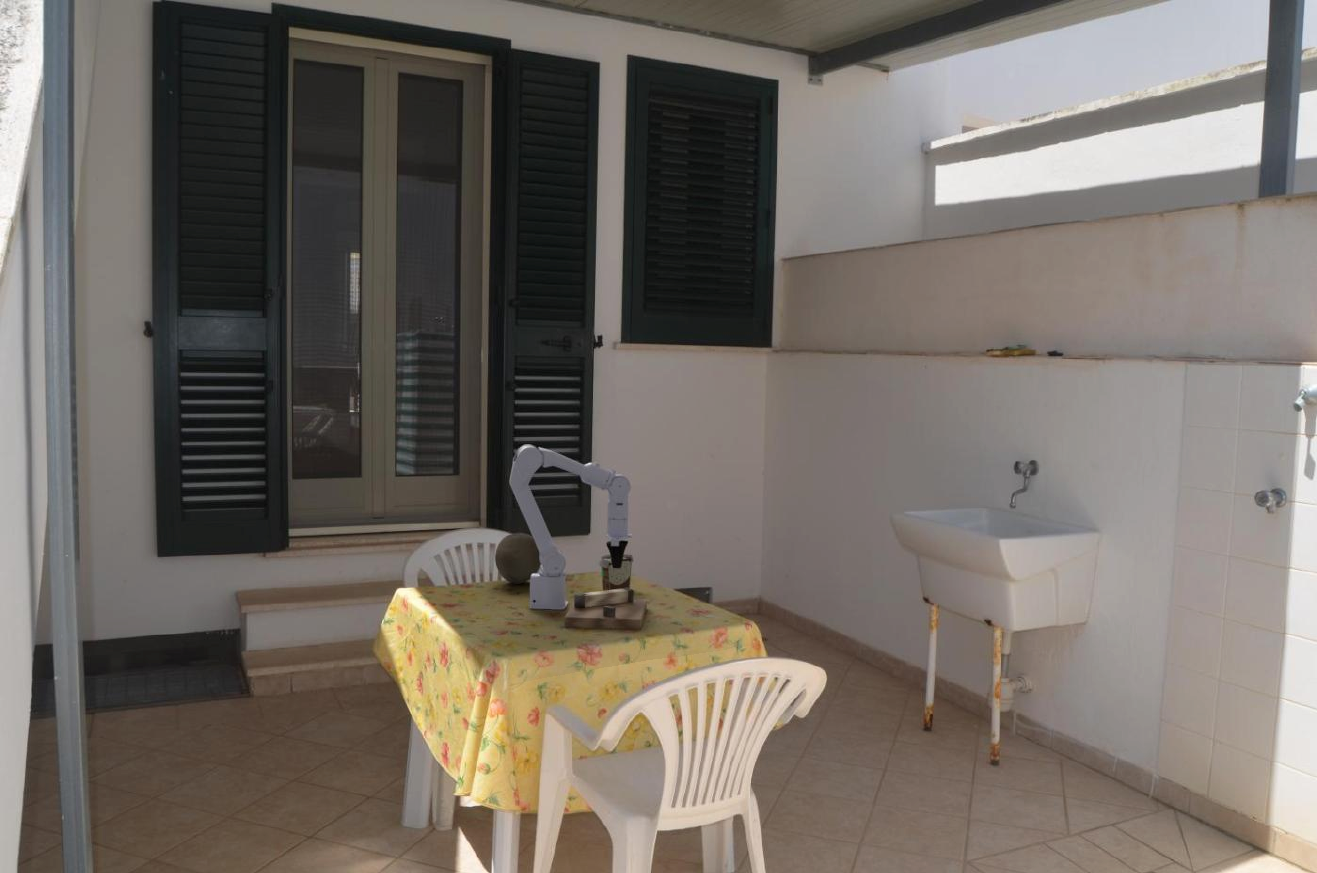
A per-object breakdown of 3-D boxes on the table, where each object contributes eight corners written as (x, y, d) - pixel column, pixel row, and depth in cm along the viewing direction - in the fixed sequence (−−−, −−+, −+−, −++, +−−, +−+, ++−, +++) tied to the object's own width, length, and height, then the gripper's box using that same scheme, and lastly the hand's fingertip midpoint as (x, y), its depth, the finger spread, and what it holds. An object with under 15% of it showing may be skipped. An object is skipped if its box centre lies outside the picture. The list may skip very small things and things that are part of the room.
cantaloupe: (487, 581, 315) (487, 531, 314) (531, 577, 322) (532, 528, 321) (504, 591, 303) (505, 539, 302) (550, 586, 310) (550, 535, 309)
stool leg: (577, 608, 273) (577, 596, 273) (572, 606, 276) (572, 593, 276) (633, 601, 282) (633, 589, 282) (627, 599, 285) (627, 587, 284)
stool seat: (564, 627, 265) (564, 607, 264) (576, 606, 287) (576, 588, 286) (640, 629, 264) (640, 610, 263) (646, 608, 286) (646, 590, 285)
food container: (616, 585, 313) (616, 552, 312) (632, 588, 309) (633, 554, 309) (589, 592, 303) (590, 558, 302) (606, 596, 299) (607, 561, 299)
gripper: (630, 522, 280) (629, 573, 281) (634, 514, 295) (633, 563, 296) (603, 522, 281) (602, 572, 282) (609, 514, 295) (608, 562, 296)
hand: (617, 567), depth 289 cm, fingers closed
